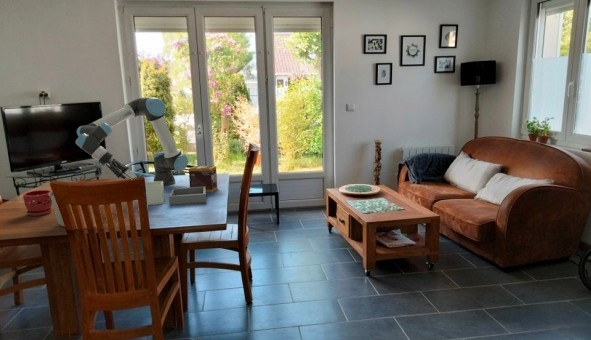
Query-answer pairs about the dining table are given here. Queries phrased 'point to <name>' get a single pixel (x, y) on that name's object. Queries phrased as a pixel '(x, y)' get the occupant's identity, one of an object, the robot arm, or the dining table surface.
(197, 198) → the large crate
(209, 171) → the supplement box
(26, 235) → the dining table surface
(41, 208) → the plant pot
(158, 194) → the small crate
